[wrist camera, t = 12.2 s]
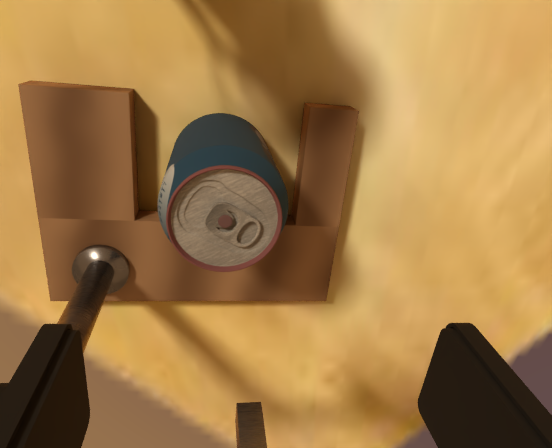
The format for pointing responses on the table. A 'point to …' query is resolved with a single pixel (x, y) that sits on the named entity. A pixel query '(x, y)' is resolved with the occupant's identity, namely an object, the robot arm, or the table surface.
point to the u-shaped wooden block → (145, 224)
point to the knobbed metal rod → (110, 278)
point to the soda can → (222, 195)
